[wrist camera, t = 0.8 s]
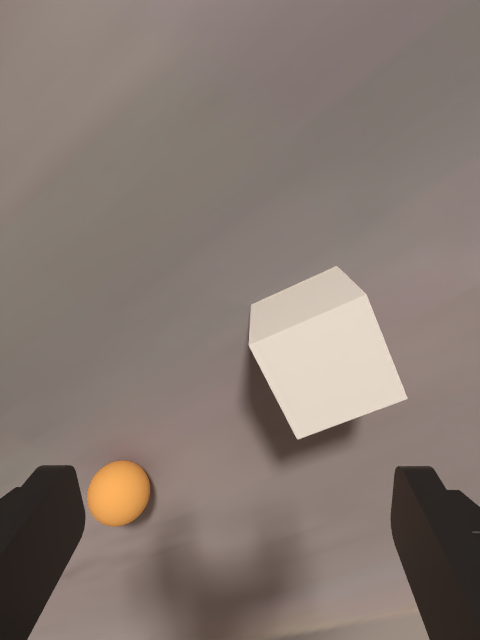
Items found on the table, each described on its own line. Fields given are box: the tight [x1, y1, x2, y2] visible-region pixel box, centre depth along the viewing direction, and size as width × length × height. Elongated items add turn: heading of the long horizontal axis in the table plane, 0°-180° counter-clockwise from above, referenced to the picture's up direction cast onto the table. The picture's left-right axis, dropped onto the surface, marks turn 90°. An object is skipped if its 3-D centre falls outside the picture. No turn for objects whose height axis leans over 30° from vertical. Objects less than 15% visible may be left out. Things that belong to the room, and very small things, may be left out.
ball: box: [87, 461, 150, 526], centre depth 32 cm, size 5×5×5 cm
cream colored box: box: [249, 266, 408, 440], centre depth 25 cm, size 7×7×8 cm
